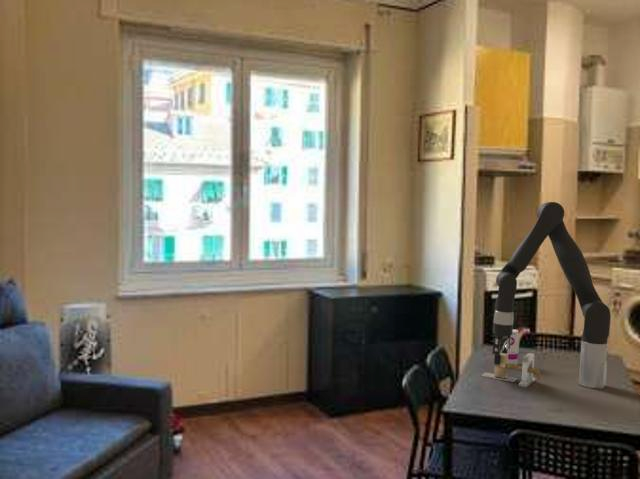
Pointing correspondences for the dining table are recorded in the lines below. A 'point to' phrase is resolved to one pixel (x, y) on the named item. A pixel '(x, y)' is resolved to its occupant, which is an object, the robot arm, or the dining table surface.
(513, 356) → the supplement can
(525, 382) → the white stand
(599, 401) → the dining table surface
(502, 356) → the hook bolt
